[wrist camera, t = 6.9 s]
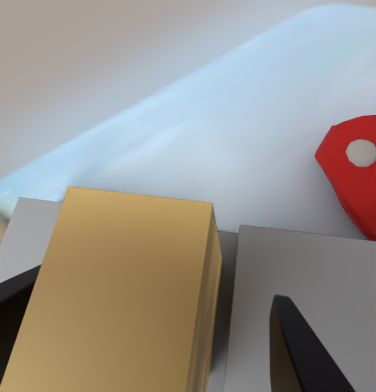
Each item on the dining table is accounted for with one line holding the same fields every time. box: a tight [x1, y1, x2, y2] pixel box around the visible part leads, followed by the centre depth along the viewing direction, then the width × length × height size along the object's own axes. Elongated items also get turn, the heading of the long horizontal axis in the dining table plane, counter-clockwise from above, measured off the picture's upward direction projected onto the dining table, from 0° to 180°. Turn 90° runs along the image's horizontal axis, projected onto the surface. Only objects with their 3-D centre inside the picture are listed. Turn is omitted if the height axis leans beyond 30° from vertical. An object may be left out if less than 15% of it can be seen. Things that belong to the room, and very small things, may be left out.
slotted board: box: [0, 197, 376, 392], centre depth 14 cm, size 10×24×3 cm, turn 81°
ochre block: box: [0, 186, 223, 392], centre depth 10 cm, size 6×3×12 cm, turn 171°
